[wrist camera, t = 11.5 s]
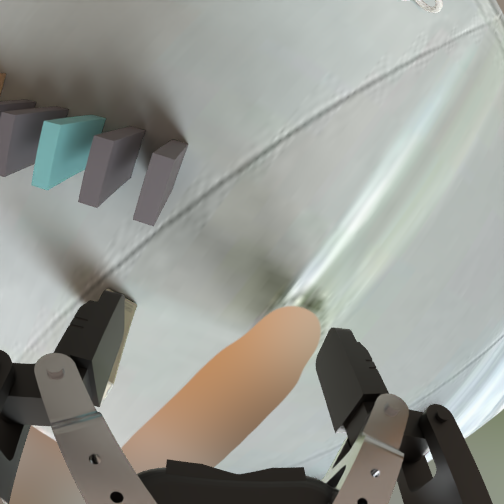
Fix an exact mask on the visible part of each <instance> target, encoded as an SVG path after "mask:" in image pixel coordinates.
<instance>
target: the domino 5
mask: <svg viewBox="0 0 504 504" xmlns="http://www.w3.org/2000/svg"><path fill="white" fill-rule="evenodd" d="M187 147H188V144H186V143H183V142H180V141H177V140H174V139H172V140H171V141H169V142H168V143H166V144H165V145H163V146H162V147H160V148H159V149H157V150H156V151H155V152H153V154H152V157H151V160H150V163H149V166H148V169H147V172H146V175H145V179H144V182H143V185H142V189H141V192H140V196H139V199H138V203H137V206H136V210H135V214H134V217H133V220H136V221H139V222H142V223H145V224H148V225H151V226H154V224H155V222H156V220H157V219H158V217H159V215H160V213H161V211H162V209H163V207H164V205H165V203H166V201H167V199H168V197H169V195H170V194H171V192H172V189H173V186H174V183H175V180H176V177H177V174H178V172H179V169H180V166H181V163H182V160H183V158H184V155H185V152H186V149H187Z"/></svg>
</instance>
